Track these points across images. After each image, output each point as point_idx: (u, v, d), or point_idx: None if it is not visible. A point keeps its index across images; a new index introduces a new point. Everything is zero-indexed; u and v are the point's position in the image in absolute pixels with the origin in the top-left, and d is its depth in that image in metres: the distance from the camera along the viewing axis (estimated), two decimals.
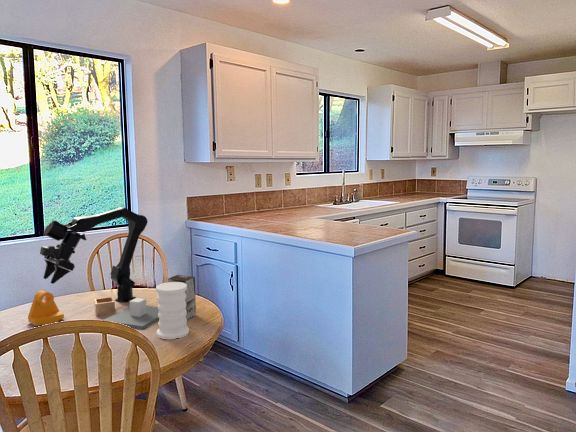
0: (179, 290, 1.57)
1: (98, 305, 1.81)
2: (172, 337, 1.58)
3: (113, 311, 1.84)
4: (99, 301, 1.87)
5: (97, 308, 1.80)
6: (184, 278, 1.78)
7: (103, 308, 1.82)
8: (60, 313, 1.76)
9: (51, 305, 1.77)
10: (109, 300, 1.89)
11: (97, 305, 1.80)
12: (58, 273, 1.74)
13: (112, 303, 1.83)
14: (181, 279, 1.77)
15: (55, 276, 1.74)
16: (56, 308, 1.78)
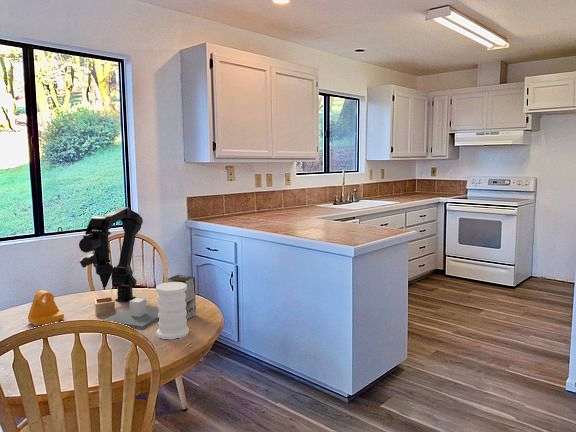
0: (179, 290, 1.57)
1: (98, 305, 1.81)
2: (172, 337, 1.58)
3: (113, 311, 1.84)
4: (99, 301, 1.87)
5: (97, 308, 1.80)
6: (184, 278, 1.78)
7: (103, 308, 1.82)
8: (60, 313, 1.76)
9: (51, 305, 1.77)
10: (109, 300, 1.89)
11: (97, 305, 1.80)
12: (104, 277, 1.78)
13: (112, 303, 1.83)
14: (181, 279, 1.77)
15: (103, 281, 1.78)
16: (56, 308, 1.78)
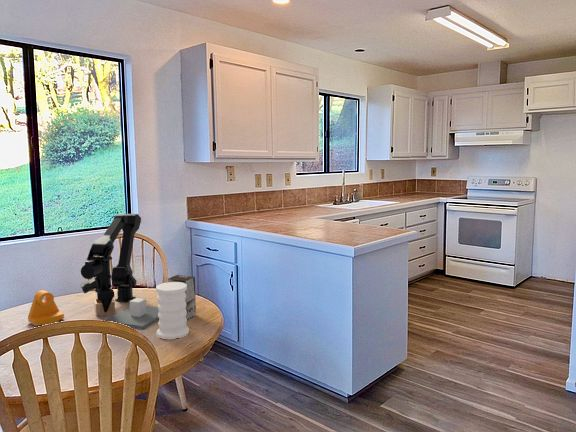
0: (179, 290, 1.57)
1: (98, 305, 1.81)
2: (172, 337, 1.58)
3: (113, 311, 1.84)
4: (99, 301, 1.87)
5: (97, 308, 1.80)
6: (184, 278, 1.78)
7: None
8: (60, 313, 1.76)
9: (51, 305, 1.77)
10: None
11: (97, 305, 1.80)
12: (105, 302, 1.80)
13: (112, 303, 1.83)
14: (181, 279, 1.77)
15: (104, 305, 1.80)
16: (56, 308, 1.78)
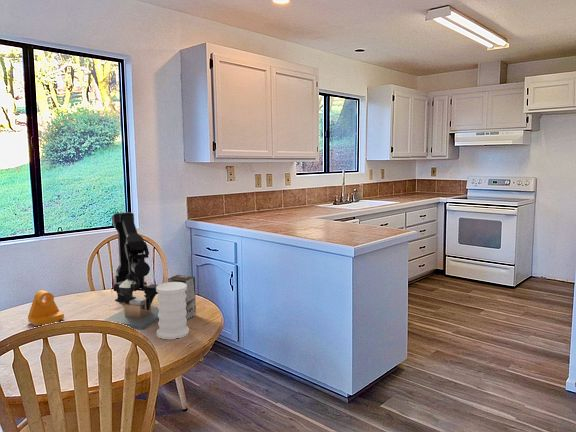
0: (179, 290, 1.57)
1: (141, 307, 1.75)
2: (172, 337, 1.58)
3: (150, 311, 1.81)
4: None
5: (141, 310, 1.75)
6: (184, 278, 1.78)
7: (144, 309, 1.77)
8: (60, 313, 1.76)
9: (51, 305, 1.77)
10: None
11: (140, 307, 1.75)
12: (149, 299, 1.77)
13: None
14: (181, 279, 1.77)
15: (149, 303, 1.77)
16: (56, 308, 1.78)
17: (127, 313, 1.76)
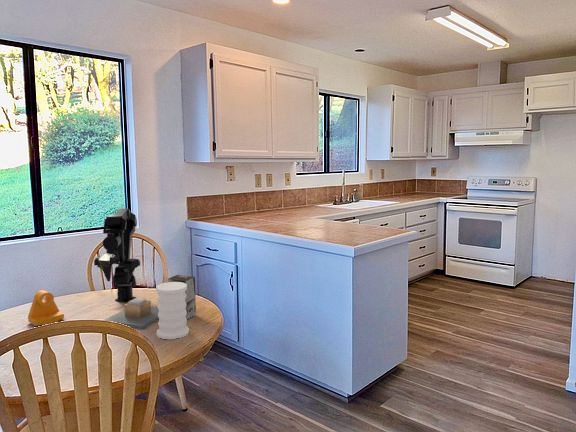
0: (179, 290, 1.57)
1: (141, 307, 1.75)
2: (172, 337, 1.58)
3: (150, 311, 1.81)
4: None
5: (141, 310, 1.75)
6: (184, 278, 1.78)
7: (144, 309, 1.77)
8: (60, 313, 1.76)
9: (51, 305, 1.77)
10: None
11: (140, 307, 1.75)
12: (129, 273, 1.84)
13: (149, 302, 1.80)
14: (181, 279, 1.77)
15: (128, 276, 1.84)
16: (56, 308, 1.78)
17: (127, 313, 1.76)
